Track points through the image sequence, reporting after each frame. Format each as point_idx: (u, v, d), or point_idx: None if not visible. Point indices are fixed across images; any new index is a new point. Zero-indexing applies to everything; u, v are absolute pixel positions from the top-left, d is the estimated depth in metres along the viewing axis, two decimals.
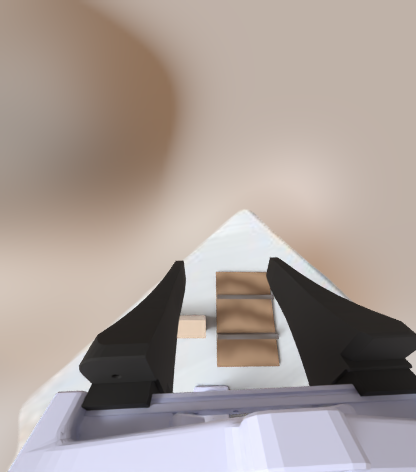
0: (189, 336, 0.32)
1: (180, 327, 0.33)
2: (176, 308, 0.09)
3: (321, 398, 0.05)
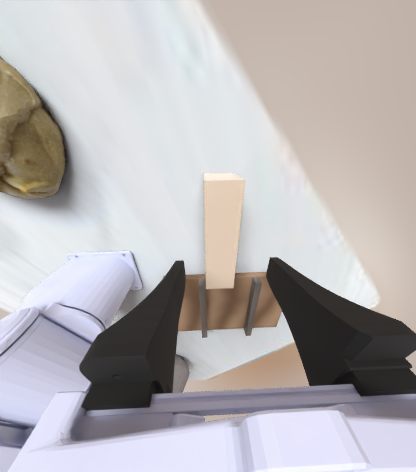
0: (208, 267, 0.17)
1: (224, 252, 0.16)
2: (176, 308, 0.09)
3: (321, 398, 0.05)
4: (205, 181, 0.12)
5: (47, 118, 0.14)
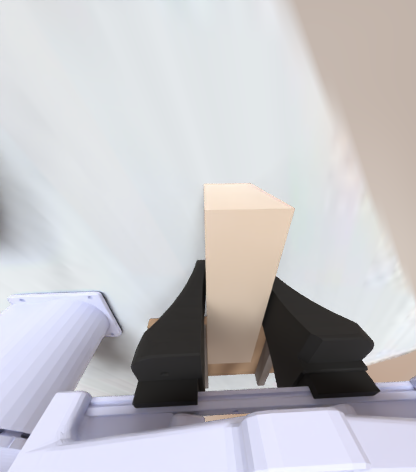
0: (211, 340, 0.10)
1: (239, 322, 0.09)
2: (203, 307, 0.09)
3: (321, 398, 0.05)
4: (208, 211, 0.06)
5: None
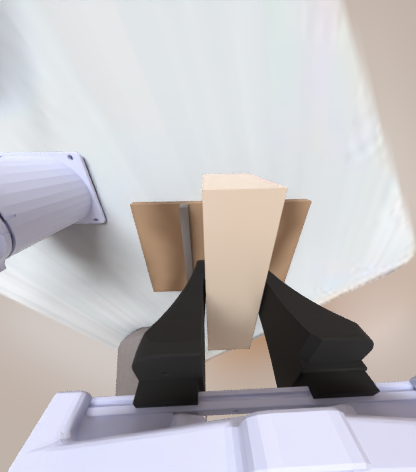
0: (211, 325, 0.10)
1: (237, 305, 0.09)
2: (203, 307, 0.09)
3: (321, 398, 0.05)
4: (205, 191, 0.06)
5: None
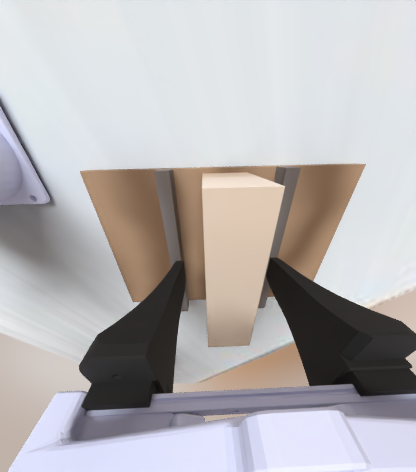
0: (211, 322, 0.11)
1: (237, 302, 0.10)
2: (176, 308, 0.09)
3: (321, 398, 0.05)
4: (205, 190, 0.06)
5: None
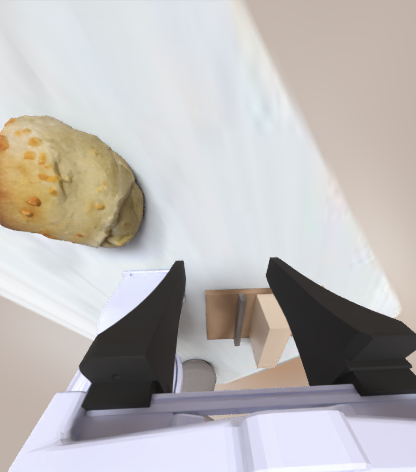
0: (261, 359, 0.26)
1: (273, 353, 0.25)
2: (176, 308, 0.09)
3: (321, 398, 0.05)
4: (270, 328, 0.21)
5: (138, 187, 0.17)
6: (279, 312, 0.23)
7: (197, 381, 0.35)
